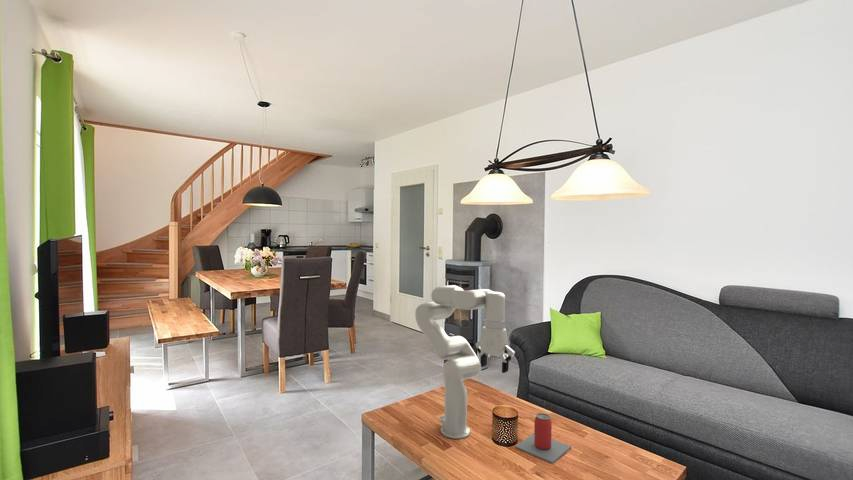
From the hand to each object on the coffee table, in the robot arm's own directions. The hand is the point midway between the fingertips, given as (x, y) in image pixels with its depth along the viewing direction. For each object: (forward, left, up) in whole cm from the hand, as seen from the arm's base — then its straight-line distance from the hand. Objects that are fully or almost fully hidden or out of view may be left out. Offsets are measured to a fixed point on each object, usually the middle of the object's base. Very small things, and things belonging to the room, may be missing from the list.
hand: (494, 369), depth 154 cm
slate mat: (+11, +19, -33) cm, 40 cm away
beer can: (+11, +19, -33) cm, 39 cm away
